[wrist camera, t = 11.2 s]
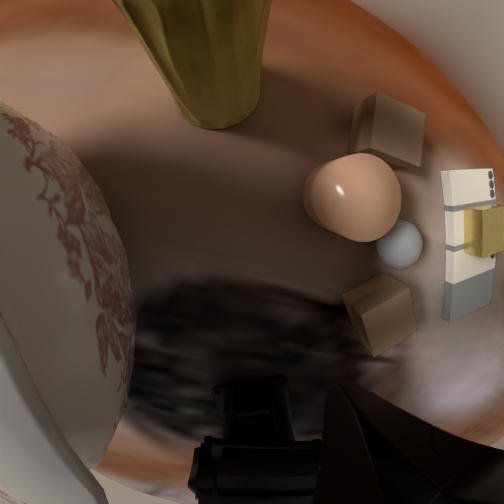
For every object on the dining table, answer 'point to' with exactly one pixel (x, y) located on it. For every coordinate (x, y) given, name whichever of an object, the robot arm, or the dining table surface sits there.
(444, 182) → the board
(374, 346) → the walnut cube
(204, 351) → the dining table surface
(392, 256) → the grey ball
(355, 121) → the walnut cube
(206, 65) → the vase
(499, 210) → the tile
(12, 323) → the chamber pot
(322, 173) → the peach rounded capsule
